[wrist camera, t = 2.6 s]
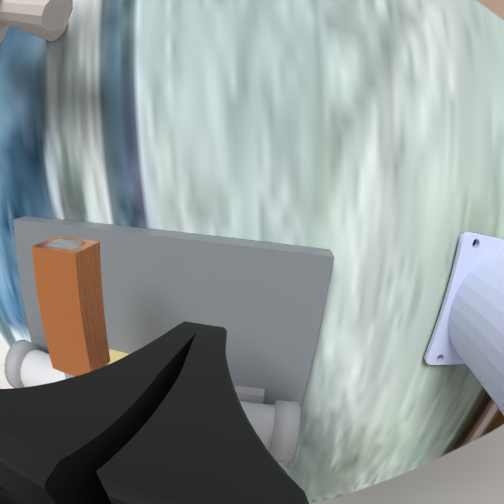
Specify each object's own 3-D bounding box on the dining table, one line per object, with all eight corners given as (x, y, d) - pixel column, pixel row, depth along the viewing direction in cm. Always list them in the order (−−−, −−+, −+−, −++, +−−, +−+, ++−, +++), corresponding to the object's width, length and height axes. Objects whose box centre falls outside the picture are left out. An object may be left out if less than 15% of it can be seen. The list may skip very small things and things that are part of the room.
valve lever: (138, 465, 12) (127, 490, 11) (96, 451, 12) (82, 473, 11) (107, 242, 9) (77, 258, 8) (51, 235, 9) (19, 247, 8)
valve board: (329, 249, 15) (360, 304, 9) (286, 445, 19) (284, 519, 13) (25, 215, 16) (-49, 240, 10) (56, 392, 20) (15, 441, 14)
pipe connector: (71, 123, 14) (-80, 116, 5) (-12, 85, 14) (-119, 78, 4) (158, -28, 12) (72, -130, 2) (53, -36, 11) (-33, -85, 2)
